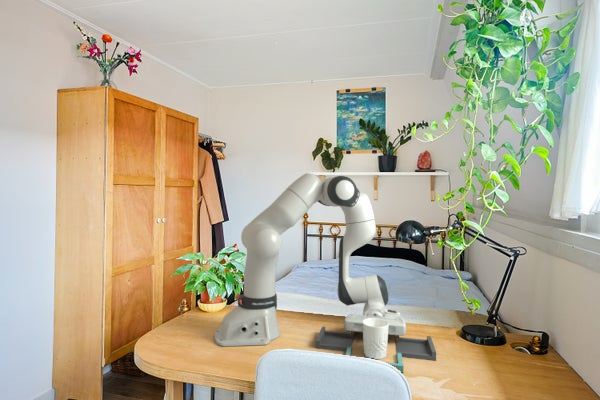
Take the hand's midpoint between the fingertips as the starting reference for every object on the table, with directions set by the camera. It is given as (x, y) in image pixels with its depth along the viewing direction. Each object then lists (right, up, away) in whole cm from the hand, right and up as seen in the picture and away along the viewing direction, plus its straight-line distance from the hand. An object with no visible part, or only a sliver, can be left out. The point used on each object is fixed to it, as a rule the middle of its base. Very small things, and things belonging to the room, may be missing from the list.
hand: (374, 333), depth 115 cm
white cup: (-1, -5, -4) cm, 6 cm away
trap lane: (0, -5, +3) cm, 6 cm away
